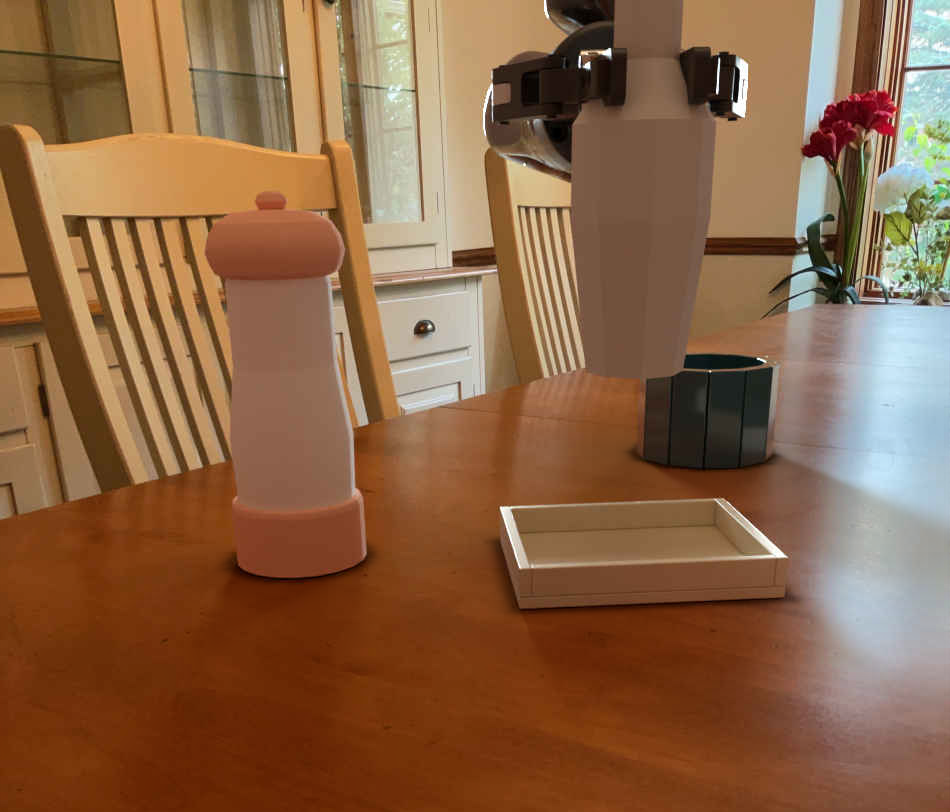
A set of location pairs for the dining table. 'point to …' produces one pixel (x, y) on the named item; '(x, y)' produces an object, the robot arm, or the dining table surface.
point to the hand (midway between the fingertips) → (660, 75)
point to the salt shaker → (287, 393)
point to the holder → (710, 412)
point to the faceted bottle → (641, 203)
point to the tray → (637, 554)
